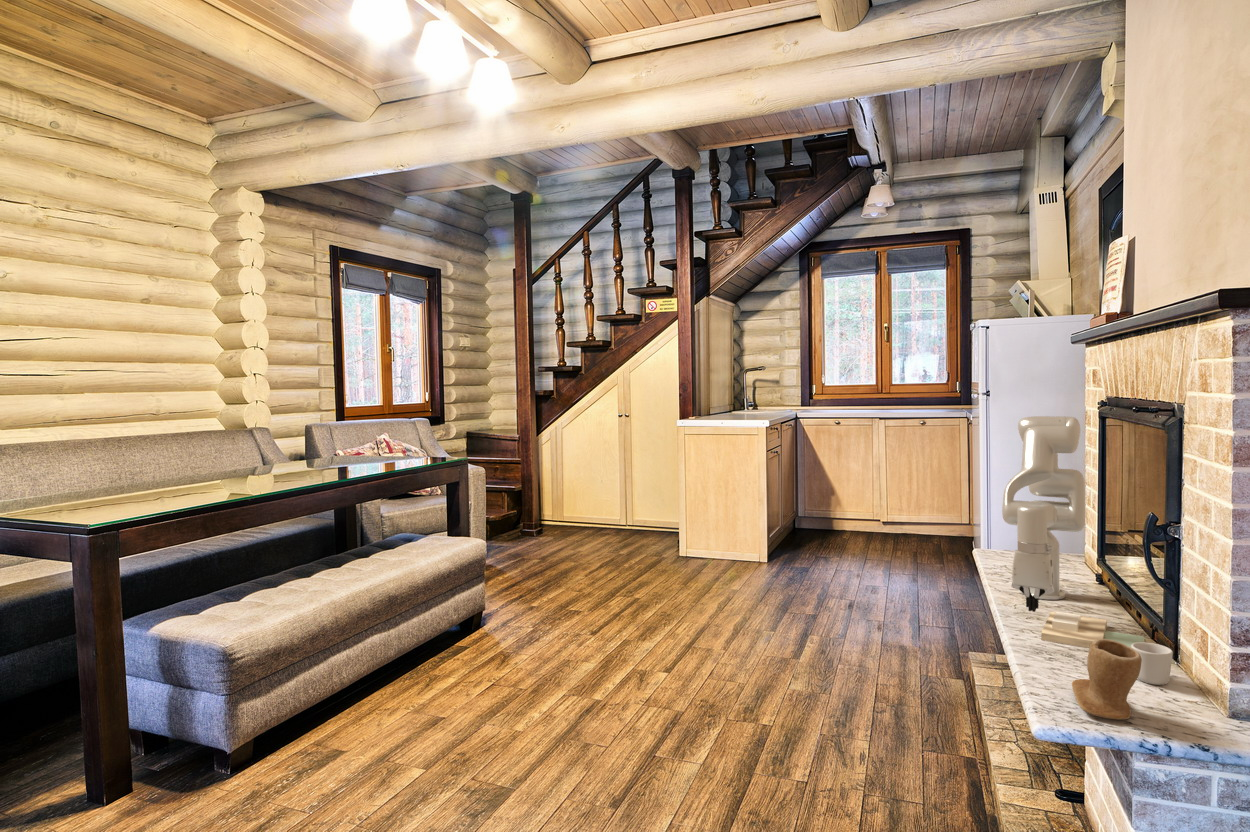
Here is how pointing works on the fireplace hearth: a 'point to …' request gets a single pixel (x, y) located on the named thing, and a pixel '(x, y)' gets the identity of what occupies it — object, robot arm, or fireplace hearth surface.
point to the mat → (1123, 638)
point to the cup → (1154, 662)
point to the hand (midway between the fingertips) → (1032, 610)
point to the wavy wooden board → (1083, 637)
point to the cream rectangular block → (1066, 621)
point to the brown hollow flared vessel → (1108, 679)
